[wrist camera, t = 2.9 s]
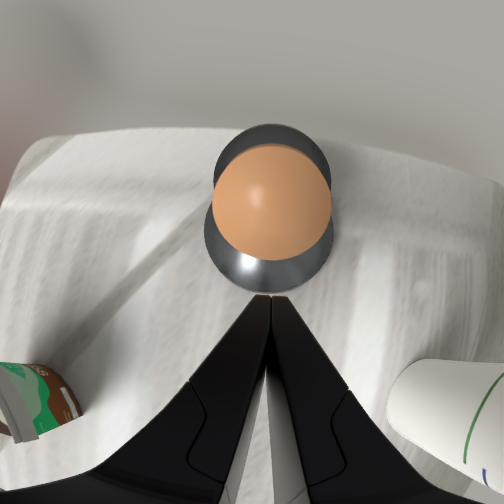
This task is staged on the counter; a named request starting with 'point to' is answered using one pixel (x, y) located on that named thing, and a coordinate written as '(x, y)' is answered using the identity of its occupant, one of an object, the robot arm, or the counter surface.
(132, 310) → the counter surface
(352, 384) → the counter surface
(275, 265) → the button post
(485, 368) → the cylindrical container
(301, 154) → the button cap
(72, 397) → the food container
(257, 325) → the robot arm
